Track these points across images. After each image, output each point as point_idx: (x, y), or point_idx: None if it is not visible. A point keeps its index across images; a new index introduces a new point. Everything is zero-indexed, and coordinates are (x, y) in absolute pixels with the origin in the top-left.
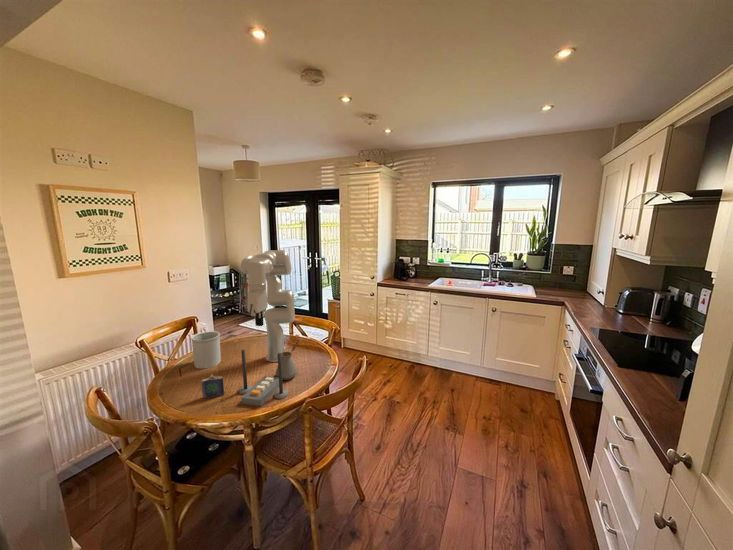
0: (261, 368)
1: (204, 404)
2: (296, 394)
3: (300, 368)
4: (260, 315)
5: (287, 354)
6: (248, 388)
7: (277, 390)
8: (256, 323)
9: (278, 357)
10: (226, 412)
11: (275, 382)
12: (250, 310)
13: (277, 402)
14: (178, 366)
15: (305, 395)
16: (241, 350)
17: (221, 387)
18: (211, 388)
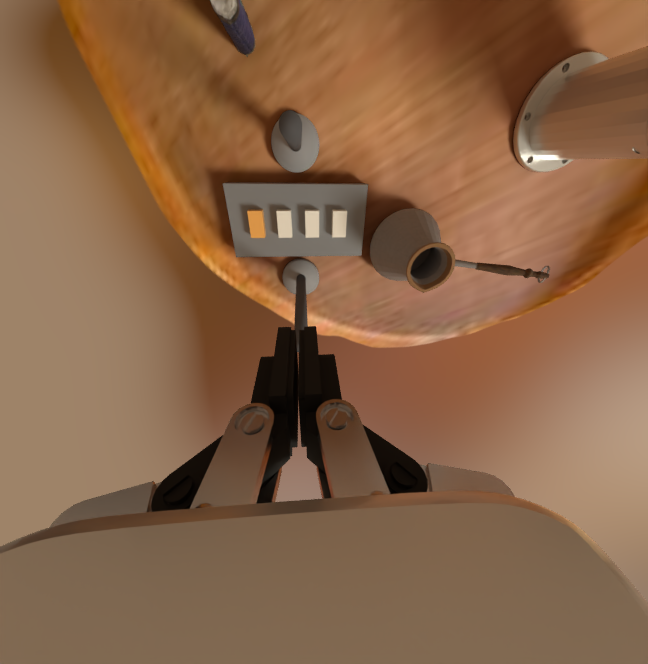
0: (463, 100)
1: (161, 7)
2: (312, 309)
3: None
4: (268, 491)
5: (444, 263)
6: (298, 156)
7: (309, 263)
8: (260, 364)
9: None
10: (172, 160)
11: (332, 248)
12: (40, 615)
13: (269, 282)
14: None
15: None
16: (283, 114)
17: (232, 37)
18: None
